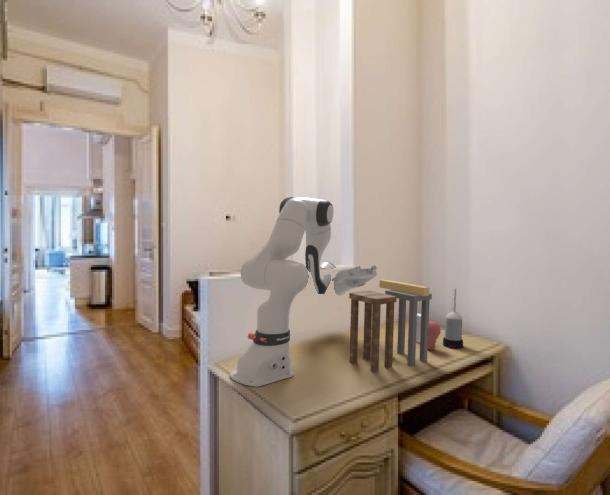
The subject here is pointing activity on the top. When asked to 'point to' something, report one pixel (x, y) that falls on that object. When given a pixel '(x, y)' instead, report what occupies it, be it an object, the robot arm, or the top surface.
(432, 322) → the light bulb
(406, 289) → the ochre bar
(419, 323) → the skincare box
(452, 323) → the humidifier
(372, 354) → the walnut stand
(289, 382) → the top surface
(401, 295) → the charcoal stand
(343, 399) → the top surface
